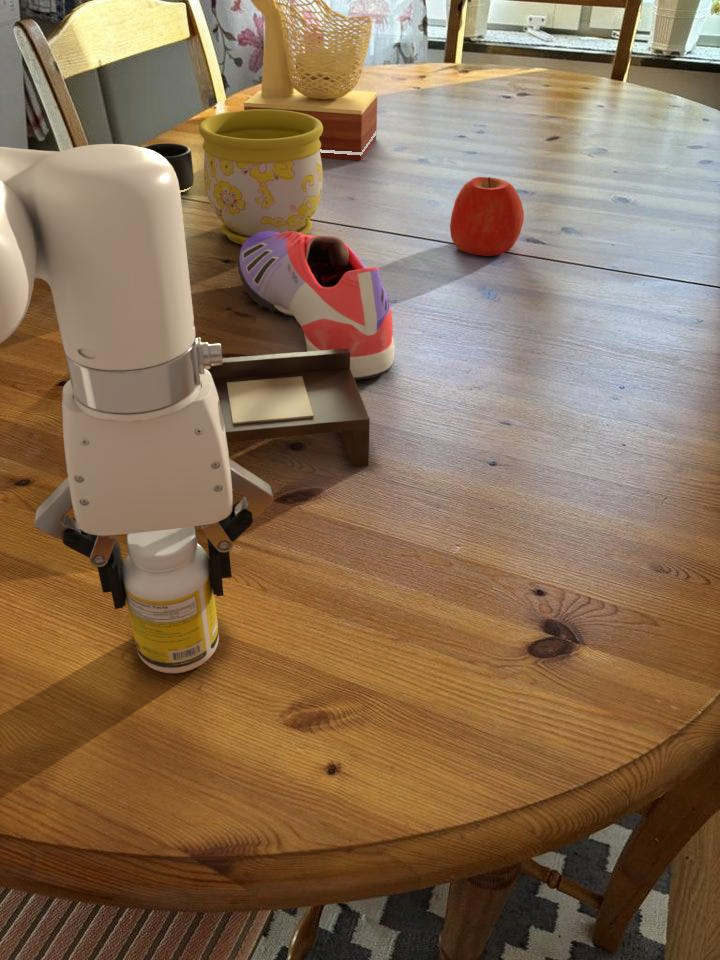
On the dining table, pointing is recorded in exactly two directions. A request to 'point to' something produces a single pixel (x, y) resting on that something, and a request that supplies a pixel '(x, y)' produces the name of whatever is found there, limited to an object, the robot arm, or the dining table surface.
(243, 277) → the coral sneaker
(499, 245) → the apple
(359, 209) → the dining table surface
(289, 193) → the flowerpot
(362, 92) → the beige netted upright structure
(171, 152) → the mug
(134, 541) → the pill bottle
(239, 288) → the dining table surface
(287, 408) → the shelf
